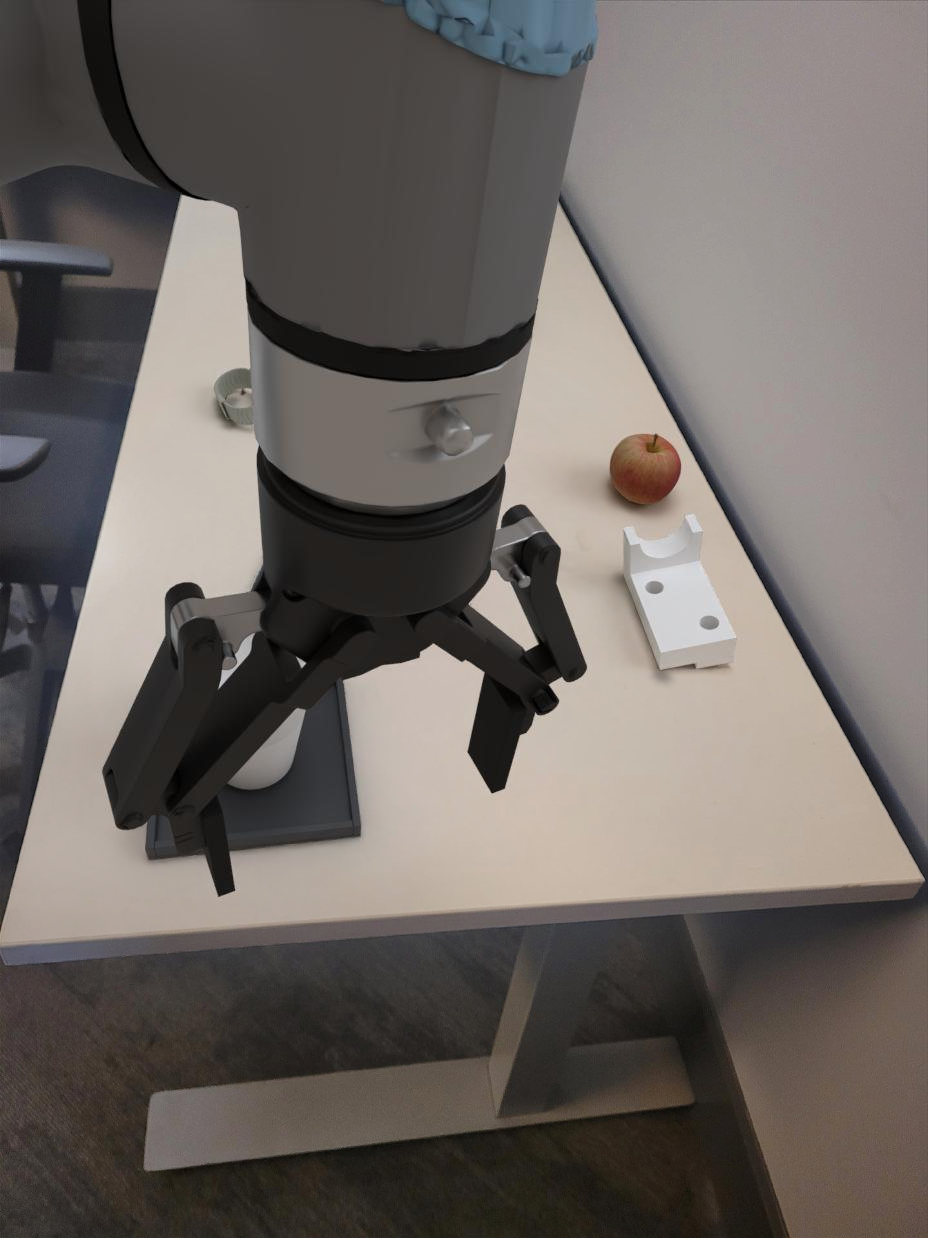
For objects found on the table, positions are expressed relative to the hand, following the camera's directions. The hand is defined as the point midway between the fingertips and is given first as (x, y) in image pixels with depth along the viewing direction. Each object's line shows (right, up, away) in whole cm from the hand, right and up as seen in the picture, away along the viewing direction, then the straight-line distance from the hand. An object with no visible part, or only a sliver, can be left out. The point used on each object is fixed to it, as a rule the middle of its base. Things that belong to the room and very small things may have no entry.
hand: (360, 816), depth 41 cm
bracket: (+25, +9, +44) cm, 52 cm away
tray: (-12, -2, +27) cm, 30 cm away
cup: (-12, -2, +27) cm, 29 cm away
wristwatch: (-21, +34, +60) cm, 72 cm away
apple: (+25, +24, +58) cm, 68 cm away
